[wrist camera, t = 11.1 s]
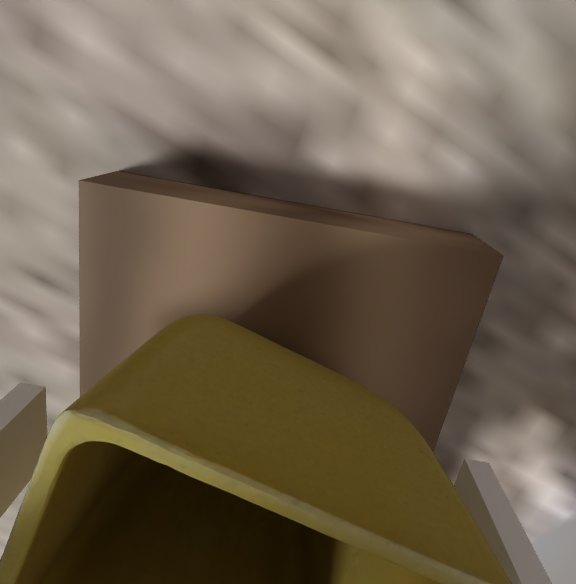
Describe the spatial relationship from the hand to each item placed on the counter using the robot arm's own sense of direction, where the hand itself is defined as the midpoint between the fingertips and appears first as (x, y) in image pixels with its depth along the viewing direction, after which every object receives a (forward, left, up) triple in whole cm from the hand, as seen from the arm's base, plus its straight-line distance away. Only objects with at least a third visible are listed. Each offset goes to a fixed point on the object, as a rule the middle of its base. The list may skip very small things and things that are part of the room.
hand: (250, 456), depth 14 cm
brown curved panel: (0, 0, -6) cm, 6 cm away
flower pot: (0, 0, -3) cm, 3 cm away
